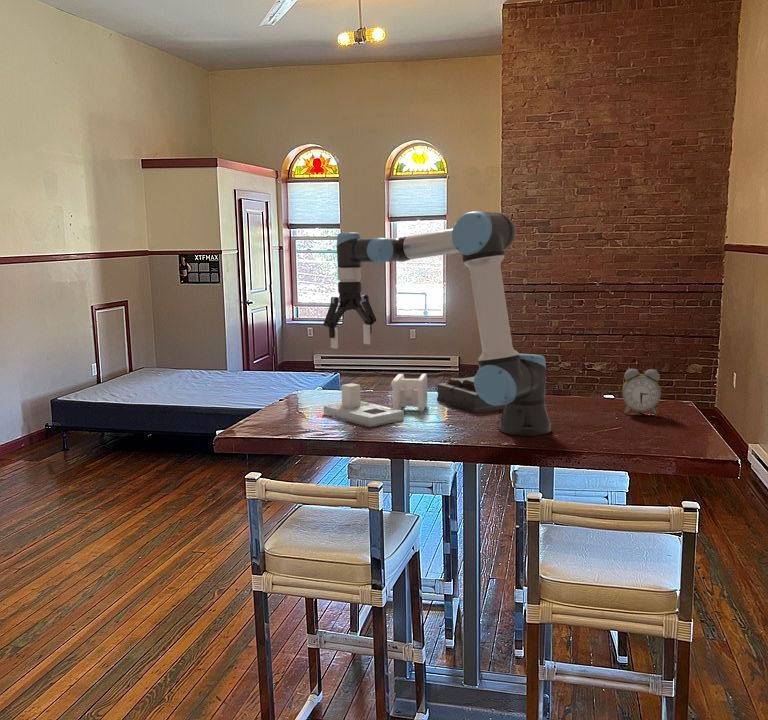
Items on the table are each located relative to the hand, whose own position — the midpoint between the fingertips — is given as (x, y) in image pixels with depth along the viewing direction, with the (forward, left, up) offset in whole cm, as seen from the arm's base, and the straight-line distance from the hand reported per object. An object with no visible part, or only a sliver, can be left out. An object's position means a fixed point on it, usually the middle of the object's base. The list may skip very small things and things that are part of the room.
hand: (351, 346), depth 239 cm
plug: (0, 0, -23) cm, 23 cm away
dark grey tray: (-17, -42, -24) cm, 51 cm away
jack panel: (-6, 0, -23) cm, 24 cm away
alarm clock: (-66, -67, -23) cm, 97 cm away
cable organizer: (-8, -19, -23) cm, 31 cm away
